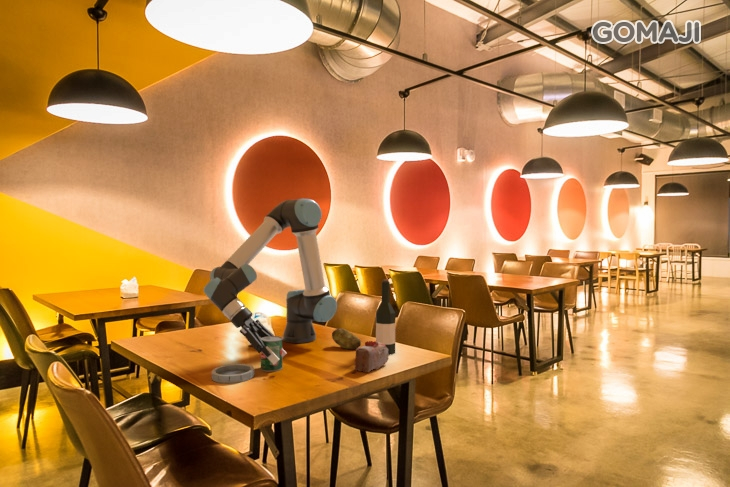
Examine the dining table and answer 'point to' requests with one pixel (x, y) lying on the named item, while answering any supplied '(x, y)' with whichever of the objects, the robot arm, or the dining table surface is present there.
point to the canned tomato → (276, 348)
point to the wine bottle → (386, 320)
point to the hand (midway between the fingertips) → (280, 358)
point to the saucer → (233, 373)
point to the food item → (371, 356)
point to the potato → (346, 339)
